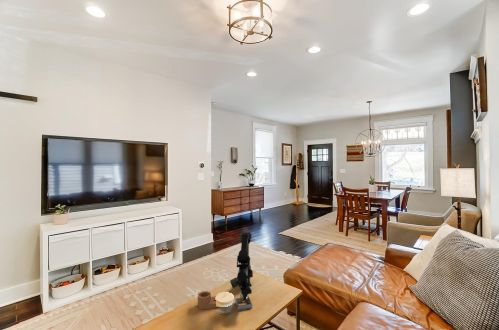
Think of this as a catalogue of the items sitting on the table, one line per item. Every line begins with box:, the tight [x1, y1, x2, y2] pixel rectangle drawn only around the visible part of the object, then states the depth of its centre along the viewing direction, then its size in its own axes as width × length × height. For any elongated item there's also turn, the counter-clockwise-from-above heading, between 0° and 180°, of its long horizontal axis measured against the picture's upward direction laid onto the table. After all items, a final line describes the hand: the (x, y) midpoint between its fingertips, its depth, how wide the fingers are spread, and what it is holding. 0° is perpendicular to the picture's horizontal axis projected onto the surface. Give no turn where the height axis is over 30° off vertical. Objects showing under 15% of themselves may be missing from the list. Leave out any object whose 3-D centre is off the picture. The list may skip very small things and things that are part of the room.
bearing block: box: [234, 296, 253, 312], centre depth 148 cm, size 9×9×2 cm
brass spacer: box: [239, 291, 248, 303], centre depth 148 cm, size 5×5×6 cm
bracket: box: [197, 290, 217, 310], centre depth 149 cm, size 18×8×7 cm, turn 100°
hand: (243, 298), depth 148 cm, fingers closed on brass spacer, 5 cm apart
